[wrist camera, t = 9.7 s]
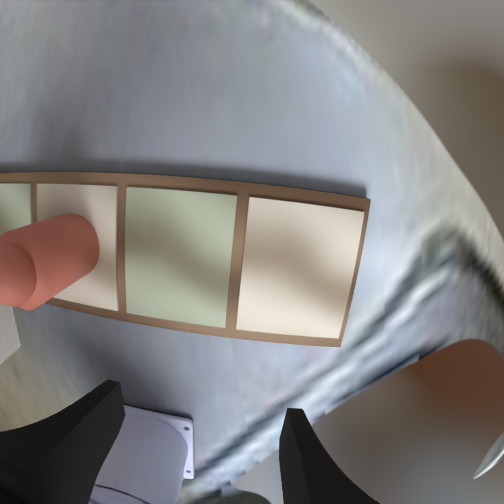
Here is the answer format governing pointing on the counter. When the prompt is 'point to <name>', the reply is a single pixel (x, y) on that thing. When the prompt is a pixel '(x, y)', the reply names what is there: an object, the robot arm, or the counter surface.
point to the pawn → (45, 259)
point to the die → (8, 333)
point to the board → (205, 251)
